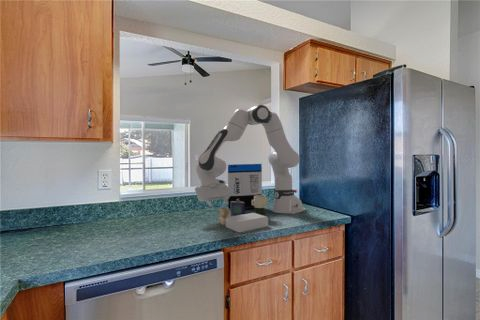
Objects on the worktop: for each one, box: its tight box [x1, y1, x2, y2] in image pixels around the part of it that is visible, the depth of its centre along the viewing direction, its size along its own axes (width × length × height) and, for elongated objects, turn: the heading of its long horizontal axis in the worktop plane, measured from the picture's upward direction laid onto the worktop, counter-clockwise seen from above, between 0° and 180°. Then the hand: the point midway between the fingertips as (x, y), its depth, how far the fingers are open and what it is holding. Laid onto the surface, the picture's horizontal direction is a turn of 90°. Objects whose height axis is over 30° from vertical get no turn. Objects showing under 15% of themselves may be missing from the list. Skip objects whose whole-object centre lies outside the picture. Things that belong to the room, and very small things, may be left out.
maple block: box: [218, 207, 231, 226], centre depth 144 cm, size 4×4×8 cm
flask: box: [230, 199, 246, 217], centre depth 159 cm, size 9×3×11 cm, turn 65°
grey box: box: [225, 212, 269, 233], centre depth 138 cm, size 18×12×5 cm, turn 125°
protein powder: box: [227, 163, 263, 211], centre depth 182 cm, size 10×24×30 cm, turn 110°
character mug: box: [252, 194, 269, 217], centre depth 154 cm, size 11×7×13 cm, turn 115°
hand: (219, 204), depth 149 cm, fingers open, 8 cm apart
